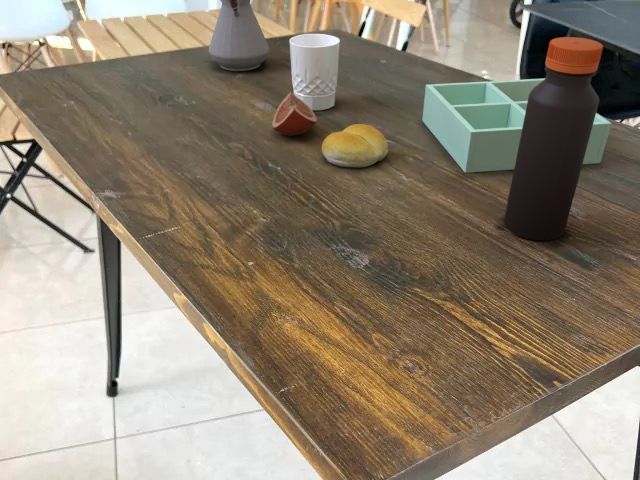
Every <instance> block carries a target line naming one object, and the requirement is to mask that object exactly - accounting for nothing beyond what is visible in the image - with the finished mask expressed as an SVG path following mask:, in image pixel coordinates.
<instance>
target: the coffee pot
mask: <svg viewBox="0 0 640 480" xmlns="http://www.w3.org/2000/svg"><path fill="white" fill-rule="evenodd" d="M219 1H220V2H221V6H220V10H219V14H218V17H217V20H216V24H215V26H214V30H213V33H212V36H211V39H210V43H209V47H208V54H209V56H210V57H211V60H213V61H214V62H215V64H218V65H219V67H220V68H221V69H223V70H227V71H234V72H242V71H243V72H245V71H251V70H255V69H258V68H259V67H260V66H261V64H262V63H263V62H265V61H266V59H268V56H269V53H270V50H271V48H270V46H269V44H268V41H267V39H266V37H265V35H264V32H263V30H262V28H261V26H260V23H259V22H258V19H257V17H256V14H255V12H254V10H253V7H252V5H251V0H219Z"/></svg>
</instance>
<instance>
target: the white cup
mask: <svg viewBox="0 0 640 480" xmlns="http://www.w3.org/2000/svg"><path fill="white" fill-rule="evenodd" d="M340 45H341V40H340V38H339V37H337V36H334V35H331V34H324V33H304V34H298V35H295V36H292V37H291V38H289V56H290V72H291V82H292V84H291V85H292V87H293V88H292V89H293V94H295V96H297V97H298V98H299V99H301V100H302V101H303V102H304V103H305V104H306V105H308V106H309V107H310V108H311V109H312V111H313V112H314V111H316V112H317V111H325V110H329V109H331V108H333V107H334V106H335V104H336V93H337V87H338V77H339V62H340V48H341V47H340Z"/></svg>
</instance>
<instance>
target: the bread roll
mask: <svg viewBox="0 0 640 480" xmlns="http://www.w3.org/2000/svg"><path fill="white" fill-rule="evenodd" d="M388 152H389V144H388V141H387V138H386V137H385V136H384V134H383V133H382V132H381V131H380V129H378V128H375V127H374V126H372V125H368V124H365V123H364V124H363V123H355V124H354V123H353V124H351V125H348V126H347V127H345V128H344V129H343V130H342V131H334V132H332V133H330V134H329V135H327V136H326V137H325V138H324V140H323V141H322V143H321V153H322V155H323V156H324V158H325V159H326V161H327V162H328V163H330V164H332V165H334V166H338V167H343V168H366V167H369V166H371V165H375V164H376V163H377V162H380V161H382V160H383V159H385V157H386V156H387V154H388Z"/></svg>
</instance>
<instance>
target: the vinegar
mask: <svg viewBox="0 0 640 480" xmlns="http://www.w3.org/2000/svg"><path fill="white" fill-rule="evenodd" d="M603 49H604V45H603V44H602V43H601V42H599V41H597V40H594V39H590V38H585V37H578V36H577V37H575V36H563V37H562V36H561V37H555V38H553V39H551V40H550V41H549V44H548V49H547V52H546V58H545V63H544V64H545V67H544V71H545V72H546V75H545V78H546V79H545V78H543V79H544V80H543V81H542V82H541V83H539V84H538V85H537V86H535V87H534V88H533V89H532V91H531V92H530V94H529V97H528V102H527V107H526V112H525V117H524V122H523V127H522V132H521V138H520V143H519V148H518V153H517V158H516V163H515V168H514V169H513V173H512V179H511V183H510V187H509V193H508V199H507V203H506V208H505V213H504V217H503V222H504V226H505V227H506V229H507V230H508V231H509V232H510V233H512V234H513V235H515V236H517V237H520V238H522V239H525V240H529V241H536V242H537V241H539V242H544V241H553V240H555V239H559V238H560V237H561V236H562V235H564V233H565V231H566V227H567V224H568V219H569V217H570V212H571V208H572V206H573V201H574V197H575V193H576V190H577V186H578V183H579V180H580V179H579V178H580V174H581V171H582V167H583V165H584V164H583V160H584V157H585V153H586V149H587V145H588V142H589V138H590V134H591V130H592V127H593V123H594V119H595V115H596V113H597V112H598V108H599V105H600V98H599V95H598V93H597V92H596V91H595V89H594V87H593V86H592V84H591V82H592V78H593V77H595V76H596V74H597V71H598V68H599V64H600V61H601V56H602V53H603Z"/></svg>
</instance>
